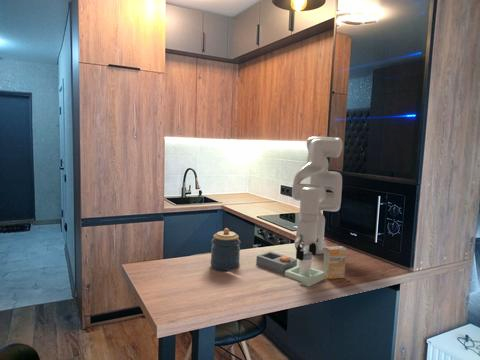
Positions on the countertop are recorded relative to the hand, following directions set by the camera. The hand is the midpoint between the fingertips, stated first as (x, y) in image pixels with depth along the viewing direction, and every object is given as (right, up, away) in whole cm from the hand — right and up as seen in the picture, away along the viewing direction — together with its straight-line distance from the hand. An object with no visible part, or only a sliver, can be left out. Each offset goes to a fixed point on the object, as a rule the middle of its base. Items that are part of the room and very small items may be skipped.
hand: (306, 256), depth 151 cm
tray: (-1, -9, +1) cm, 9 cm away
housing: (-12, -8, +11) cm, 17 cm away
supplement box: (+12, -10, +4) cm, 16 cm away
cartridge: (-1, -8, +1) cm, 8 cm away
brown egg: (-8, -7, +8) cm, 13 cm away
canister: (-35, -7, +10) cm, 37 cm away
